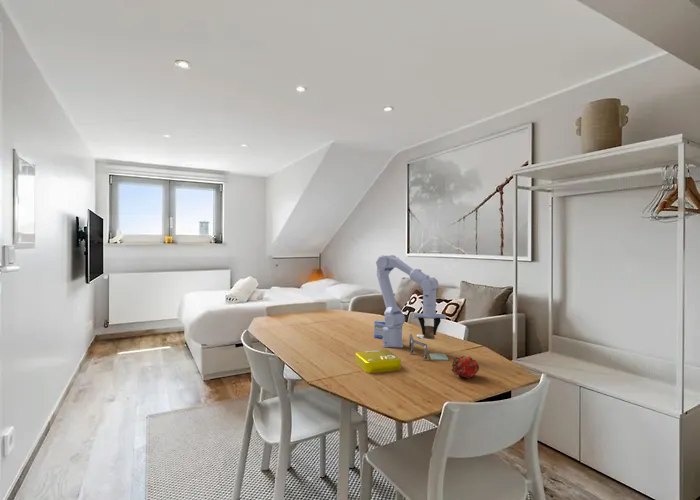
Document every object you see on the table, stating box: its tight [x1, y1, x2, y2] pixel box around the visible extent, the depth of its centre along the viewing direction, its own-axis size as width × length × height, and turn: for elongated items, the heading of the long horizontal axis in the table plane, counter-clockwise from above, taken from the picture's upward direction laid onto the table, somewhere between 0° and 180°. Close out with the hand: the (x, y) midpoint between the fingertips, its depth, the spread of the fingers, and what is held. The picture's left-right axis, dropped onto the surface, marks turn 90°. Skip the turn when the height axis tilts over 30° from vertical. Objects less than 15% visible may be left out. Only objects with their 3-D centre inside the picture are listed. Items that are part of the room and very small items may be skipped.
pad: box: [428, 352, 449, 361], centre depth 162 cm, size 7×8×1 cm
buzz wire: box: [407, 333, 430, 362], centre depth 168 cm, size 7×20×6 cm, turn 175°
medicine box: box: [373, 319, 387, 339], centre depth 196 cm, size 8×4×9 cm, turn 73°
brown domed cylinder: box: [423, 325, 436, 340], centre depth 169 cm, size 5×5×5 cm
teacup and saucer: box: [416, 333, 424, 340], centre depth 197 cm, size 9×8×4 cm
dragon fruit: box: [451, 355, 480, 379], centre depth 139 cm, size 8×8×12 cm
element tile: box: [354, 349, 402, 374], centre depth 151 cm, size 15×15×5 cm
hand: (428, 334), depth 169 cm, fingers closed on brown domed cylinder, 4 cm apart
